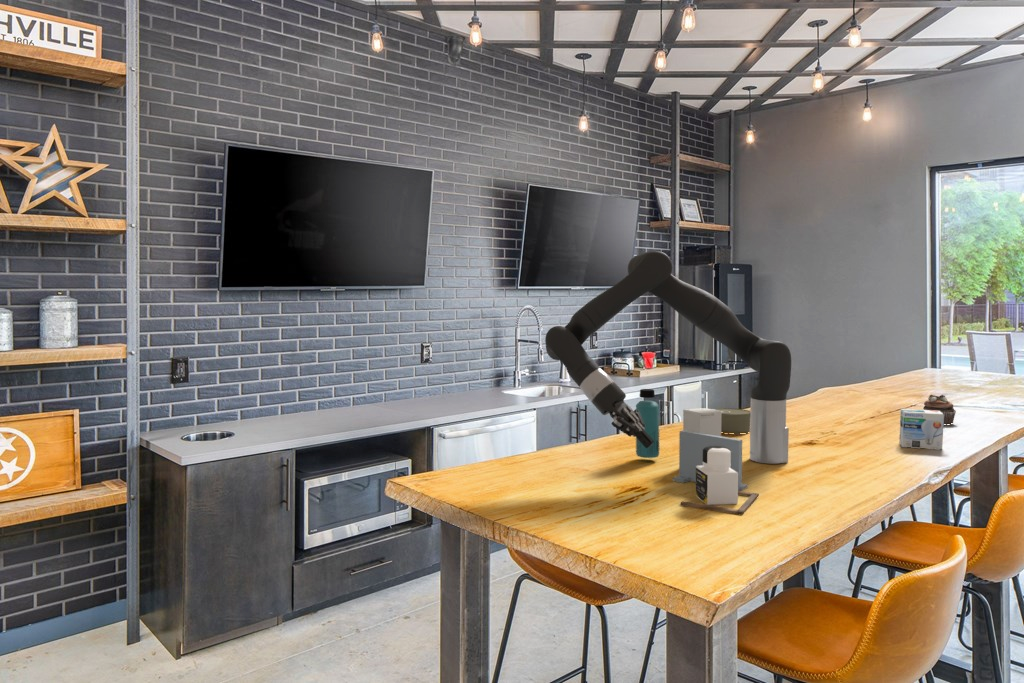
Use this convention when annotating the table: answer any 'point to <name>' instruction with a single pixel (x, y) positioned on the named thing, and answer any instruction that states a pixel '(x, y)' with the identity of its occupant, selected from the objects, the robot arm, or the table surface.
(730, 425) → the can
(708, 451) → the medicine bottle
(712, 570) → the table surface
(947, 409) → the cupcake
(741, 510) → the bay
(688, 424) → the skincare box
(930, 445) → the light bulb box
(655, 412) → the beverage bottle
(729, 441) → the screen
